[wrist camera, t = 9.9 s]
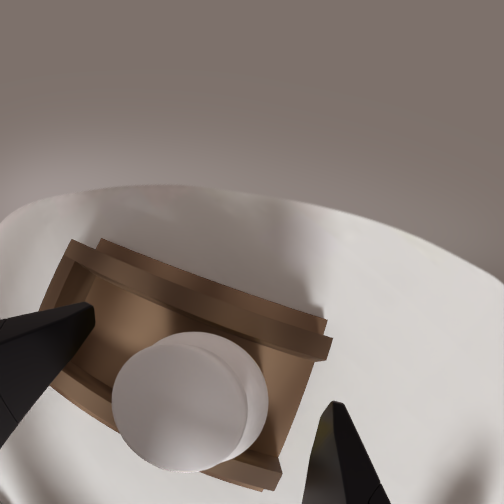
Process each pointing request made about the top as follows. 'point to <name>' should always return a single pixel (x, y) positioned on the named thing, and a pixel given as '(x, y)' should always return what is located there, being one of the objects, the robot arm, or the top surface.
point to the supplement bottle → (190, 402)
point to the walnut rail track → (178, 321)
